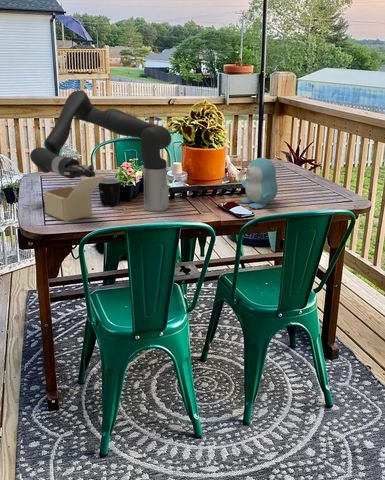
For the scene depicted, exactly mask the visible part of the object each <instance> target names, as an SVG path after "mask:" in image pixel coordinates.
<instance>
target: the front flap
mask: <svg viewBox="0 0 385 480" xmlns="http://www.w3.org/2000/svg"><path fill="white" fill-rule="evenodd" d="M106 176H107V175H106V174H101V175H95V177H90V178H89V177H83V178H81V179H80V180H79V182H78V183H77V185H76V186H74V187H75V188H74V190H73V191H72V192H71V194H70V195H69V196H68V198H67V199H72V198H76V197H81V196H85V195H90V194H91V195H92V193H93V192H94V191H95V189H96V188H97V187H99V185H98V184H99V183H100V182H101V181H102V180H103V179H105V178H106Z"/></svg>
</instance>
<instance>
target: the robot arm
mask: <svg viewBox="0 0 385 480" xmlns="http://www.w3.org/2000/svg"><path fill="white" fill-rule="evenodd" d="M74 117H75V118H76V119H77V120H78V121H79V120H80V121H82V122H86V123H90V124H92V125H93V124H94V125H96V126H98V127H100V128H103V129H106V130H108V131H110V132H112V133H114V134H116V135H120V136H123V137H128V138H129V137H130V138H137V139H139V140H140V155H141V161H142V164H143V205H144V206H143V209H144V210H145V211H148V212H164V211H165V210H167V209H169V205H170V204H169V202H170V200H169V192H170V191H169V189H170V188H169V187H170V186H169V185H167V184H168V183H167V182H168V181H167V178H168V176H167V174H168V173H167V171H168V170H167V169H168V168H167V166H168V165H167V160H166V159H165V158H162V156H161V150H164V149H166V148H168V147H169V146H170V145H171V143H172V135H171V132H170V130H168V129H167V128H166V127H164V126H163V125H159V124H155V123H151V122H147V121H145V120H142V119H140V118H139V117H135V116H134V115H131V114H129V113H126V112H124V111H122V110H119V109H117V108H107V109H105V110H101V109H98V108H96V107H95V106H93V104H92V102H91V100H90V98H89V95H88V94H87V93H86V92H85V91H83V90H80V89H79V90H74V91H73V92H71V93H70V94H69V95H68V97H67V98H66V101H65V103H64V105H63V107H62V109H61V111H60V113H59V117H58V119H57V121H56V123H55V125H54V127H53V128H52V130H51V131H50V132H49V134H48V135H47V137H46V139H45V140H44V144H43V146H44V147H36V148H34V149H33V150H32V151H31V152H30V154H29V158H30V161H31V162H32V163H33V165H35V166H36V167H37V169H39V170H40V171H41V172H42V173H43V174H44V173H45V174H48V173H50V172H51V173H53V174H57V175H59V176H61V177H64V178H67V179H75V178H81V177H83V178H90V177H95V176H96V171H94V165H93V164H90V165H88V166H86V165H84V164H82V163H80V161H79V160H78V159H76V158H72V157H70V156H65V155H60V153H61V150H62V148H63V147H64V145H65V144H66V142H67V141H68V139H69V136H70V133H71V127H72V123H73V119H74Z"/></svg>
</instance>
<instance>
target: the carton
mask: <svg viewBox="0 0 385 480" xmlns="http://www.w3.org/2000/svg"><path fill="white" fill-rule="evenodd" d="M75 187H76V186H71V185H69V186H64V187H63V186H62V187H58V188H52V189H48V190H45V191H43V196H44V208H45V209H44V210H45V214H46V215H49V216H51V217H54V218H56V219H58V220H61V221H63V222H70V221H73V220H78V219H81V218H82V219H83V218H85V217H89V216H92V215H93V210H92V209H93V207H92V205H93V204H92V193H91V194H90V195H85V196H81V197H76V198H72V199H67V198H68V196H69V195H70V194H71V192H72V191H73V190H74V188H75Z"/></svg>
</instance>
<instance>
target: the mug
mask: <svg viewBox="0 0 385 480" xmlns="http://www.w3.org/2000/svg"><path fill="white" fill-rule="evenodd" d="M98 193H99V198H100V201H101V204H102V205H103V206H105V207H115V206H117V205H118V204H119V202H120V196H121V180H120V179H118V178H114V177H111V178H109V177H108V178H107V177H104V178H103V180H102V181H101V182H100V183H99V184H98Z"/></svg>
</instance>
